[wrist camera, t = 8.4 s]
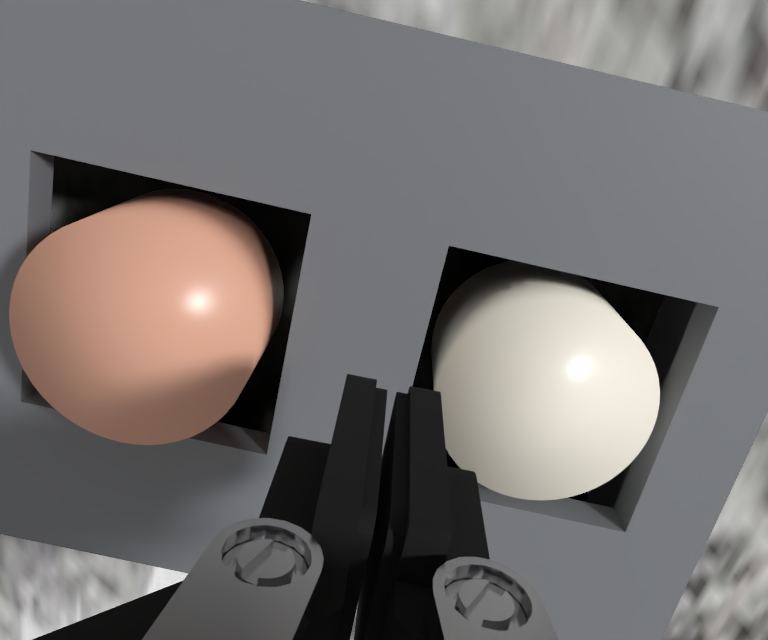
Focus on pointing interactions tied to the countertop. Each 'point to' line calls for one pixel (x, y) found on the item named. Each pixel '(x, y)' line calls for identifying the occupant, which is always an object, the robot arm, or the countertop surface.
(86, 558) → the countertop surface
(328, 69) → the button box
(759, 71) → the countertop surface
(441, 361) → the cream button
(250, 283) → the terracotta button
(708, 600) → the countertop surface
